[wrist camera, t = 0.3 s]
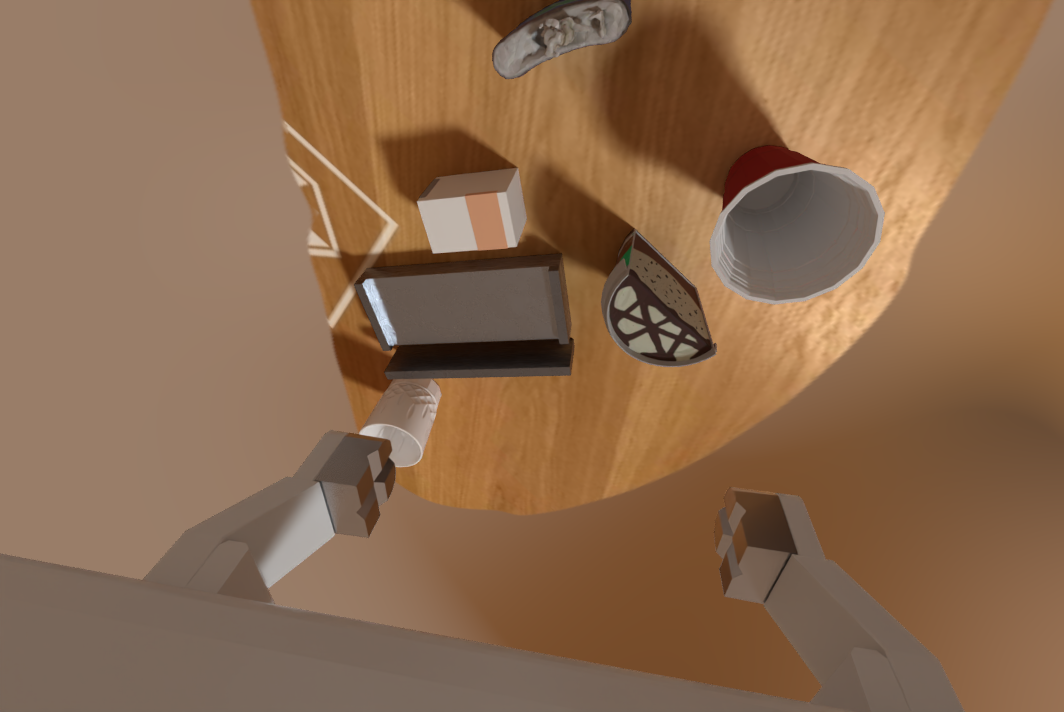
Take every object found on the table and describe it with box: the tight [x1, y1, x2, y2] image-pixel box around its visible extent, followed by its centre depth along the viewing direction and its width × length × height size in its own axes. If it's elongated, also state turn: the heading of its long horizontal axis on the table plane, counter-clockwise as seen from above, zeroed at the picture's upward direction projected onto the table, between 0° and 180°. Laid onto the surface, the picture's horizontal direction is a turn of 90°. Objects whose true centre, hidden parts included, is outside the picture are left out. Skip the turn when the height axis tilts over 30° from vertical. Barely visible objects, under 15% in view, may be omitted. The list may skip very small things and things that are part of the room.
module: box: [417, 168, 527, 254], centre depth 45 cm, size 5×8×6 cm, turn 99°
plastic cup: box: [710, 145, 885, 304], centre depth 38 cm, size 11×11×12 cm
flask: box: [492, 0, 632, 79], centre depth 33 cm, size 9×3×11 cm, turn 110°
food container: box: [601, 228, 717, 367], centre depth 47 cm, size 12×6×10 cm, turn 49°
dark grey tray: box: [354, 253, 574, 379], centre depth 54 cm, size 12×22×5 cm, turn 99°
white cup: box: [359, 378, 441, 467], centre depth 62 cm, size 8×8×10 cm
